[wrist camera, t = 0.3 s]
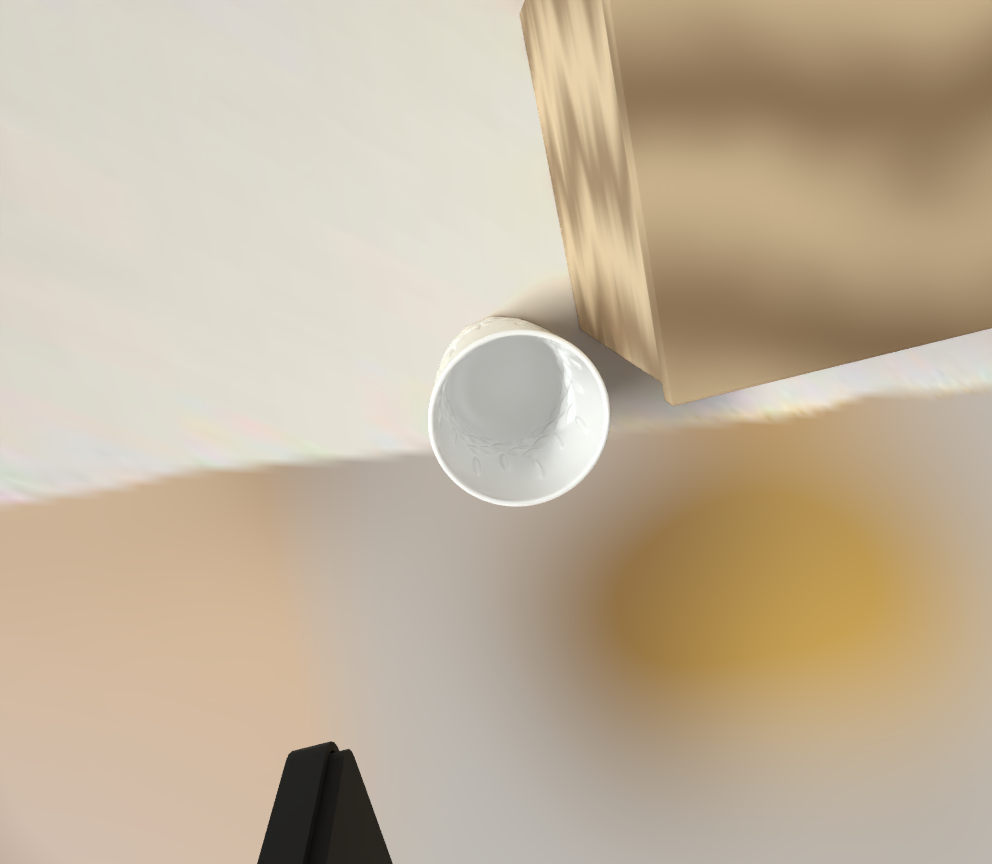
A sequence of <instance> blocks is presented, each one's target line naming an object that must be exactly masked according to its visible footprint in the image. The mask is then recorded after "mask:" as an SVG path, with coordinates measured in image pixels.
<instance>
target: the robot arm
mask: <svg viewBox="0 0 992 864" xmlns="http://www.w3.org/2000/svg"><path fill="white" fill-rule="evenodd" d="M257 864H392V861H391V858H390V855H389V852H388V850H387V847H386V844H385V841H384V839H383V835H382V833H381V830H380V827H379V824H378V822H377V819H376V816H375V813H374V811H373V808H372V805H371V802H370V799H369V796H368V794H367V791H366V788H365V785H364V783H363V780H362V777H361V774H360V771H359V769H358V766H357V763H356V760H355V757H354V755H353V753H352V751H351V750H350V749H347V750H343V751H339V749H338V747H337V746H336V744H335V743H334V742H327V743H323V744H319V745H315V746H311V747H307V748H303V749H299V750H295V751H292V752H291V753H290V754H289V755H288V758H287V760H286V763H285V767H284V770H283V774H282V777H281V781H280V784H279V788H278V791H277V795H276V799H275V802H274V806H273V809H272V813H271V816H270V820H269V824H268V828H267V831H266V834H265V838H264V842H263V845H262V849H261V852H260V856H259V859H258V863H257Z"/></svg>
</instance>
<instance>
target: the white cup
mask: <svg viewBox="0 0 992 864" xmlns="http://www.w3.org/2000/svg"><path fill="white" fill-rule="evenodd" d="M609 428H610V402H609V397H608V393H607V389H606V386H605V384H604V381H603V379H602V377H601V375H600V373H599V371H598V370H597V368H596V367H595V365H594V364H593V363H592V361H591V360H590V359H589V358H588V357H587V356H586V355H585V354H584V353H583V352H582V351H581V350H580V349H578V348H577V347H576V346H574V345H573V344H572V343H570V342H568V341H567V340H565V339H563V338H561V337H559V336H557V335H555V334H553V333H552V332H550V331H548V330H546V329H544V328H542V327H540V326H538V325H535V324H533V323H530V322H528V321H524V320H521V319H519V318H508V317H493V316H491V317H488V318H486V319H483V320H481V321H478V322H476V323H473V324H471V325H468V326H466V327H465V328H464V329H463V330H462V331H461V332H460V333H459V335H458V336H457V337H456V338H455V339H454V340H453V341H452V342H451V343H450V345H449V346H448V347H447V350H446V353H445V354H444V356H443V358H442V361H441V363H440V366H439V368H438V371H437V375H436V379H435V383H434V388H433V392H432V396H431V400H430V405H429V412H428V429H429V436H430V441H431V445H432V448H433V451H434V453H435V455H436V458H437V459H438V461H439V463H440V465H441V466H442V468H443V469H444V471H445V472H446V473H447V475H448V476H449V477H450V478H451V479H452V480H453V481H454V482H455V483H456V484H457V485H458V486H460V487H461V488H462V489H463V490H465V491H466V492H468V493H469V494H471V495H473V496H475V497H477V498H479V499H481V500H484V501H487V502H490V503H494V504H498V505H503V506H530V505H535V504H540V503H543V502H546V501H549V500H551V499H554V498H556V497H559V496H561V495H562V494H564V493H566V492H567V491H569V490H570V489H572V488H573V487H575V486H576V485H577V484H578V483H579V482H581V481H582V480H583V479H584V478H585V477H586V476H587V474H588V473H589V472H590V471H591V470H592V468H593V467H594V466H595V464H596V462H597V461H598V459H599V457H600V455H601V453H602V451H603V449H604V447H605V444H606V441H607V437H608V433H609Z"/></svg>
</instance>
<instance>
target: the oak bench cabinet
mask: <svg viewBox="0 0 992 864" xmlns="http://www.w3.org/2000/svg"><path fill="white" fill-rule="evenodd" d="M520 19H521V24H522V29H523V34H524V40H525V45H526V50H527V55H528V60H529V66H530V71H531V76H532V81H533V87H534V92H535V97H536V102H537V107H538V113H539V118H540V123H541V128H542V134H543V139H544V144H545V149H546V154H547V160H548V165H549V170H550V175H551V181H552V186H553V191H554V196H555V201H556V207H557V212H558V217H559V222H560V228H561V233H562V238H563V243H564V248H565V254H566V259H567V264H568V269H569V275H570V280H571V285H572V290H573V295H574V301H575V306H576V311H577V316H578V322H579V327H580V329H581V330H582V331H584V332H585V333H587V334H588V335H590V336H591V337H593V338H594V339H596V340H597V341H599V342H600V343H602V344H603V345H605V346H606V347H608V348H609V349H611V350H613V351H614V352H616V353H617V354H619V355H620V356H622V357H623V358H625V359H626V360H628V361H629V362H631V363H632V364H634V365H635V366H637V367H638V368H640V369H641V370H643V371H644V372H646V373H647V374H649V375H651V376H652V377H654V378H655V379H657V380H658V381H660V382H661V383H662V384H663V391H664V397H665V401H667V402H668V403H669V404H671V405H672V406H675V405H679V404H684V403H688V402H692V401H696V400H700V399H704V398H708V397H712V396H716V395H720V394H724V393H728V392H733V391H737V390H741V389H745V388H749V387H753V386H757V385H761V384H765V383H769V382H773V381H777V380H782V379H786V378H790V377H794V376H798V375H802V374H806V373H810V372H814V371H818V370H822V369H827V368H831V367H835V366H839V365H843V364H847V363H851V362H855V361H859V360H863V359H867V358H871V357H876V356H880V355H884V354H888V353H892V352H896V351H900V350H904V349H908V348H912V347H916V346H920V345H925V344H929V343H933V342H937V341H941V340H945V339H949V338H953V337H957V336H961V335H965V334H970V333H974V332H978V331H982V330H986V329H990V328H992V0H525V2H524V4H523V7H522V9H521V12H520Z"/></svg>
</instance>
